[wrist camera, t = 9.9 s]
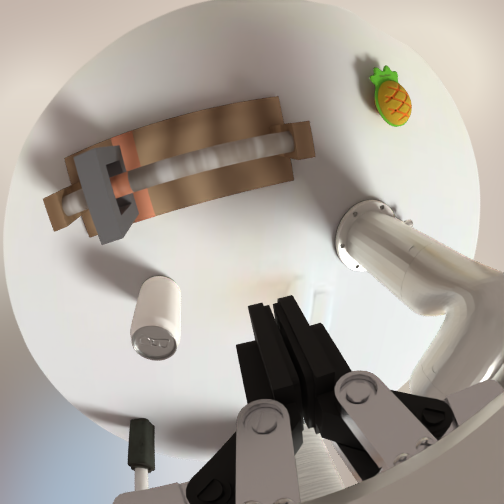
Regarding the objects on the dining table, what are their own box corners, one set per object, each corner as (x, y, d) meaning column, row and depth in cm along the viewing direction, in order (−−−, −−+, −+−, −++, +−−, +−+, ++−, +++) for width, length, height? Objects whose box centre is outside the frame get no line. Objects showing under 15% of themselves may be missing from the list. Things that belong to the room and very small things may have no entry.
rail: (276, 97, 33) (302, 85, 25) (291, 179, 38) (320, 192, 30) (67, 157, 30) (33, 165, 21) (91, 235, 35) (67, 263, 27)
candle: (156, 427, 55) (159, 516, 32) (139, 429, 54) (139, 515, 32) (146, 417, 52) (146, 511, 30) (128, 420, 52) (125, 510, 30)
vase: (271, 453, 70) (300, 539, 40) (230, 438, 62) (257, 545, 31) (325, 425, 69) (368, 513, 38) (293, 405, 60) (341, 520, 30)
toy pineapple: (375, 130, 38) (396, 131, 33) (354, 72, 33) (374, 66, 28) (403, 120, 38) (424, 121, 33) (385, 66, 33) (405, 61, 29)
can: (142, 271, 39) (128, 319, 28) (184, 278, 41) (183, 327, 30) (139, 306, 41) (128, 358, 30) (178, 312, 43) (177, 365, 32)
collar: (119, 145, 28) (95, 147, 20) (139, 213, 32) (123, 238, 24) (102, 151, 28) (73, 157, 20) (122, 219, 32) (101, 245, 24)
